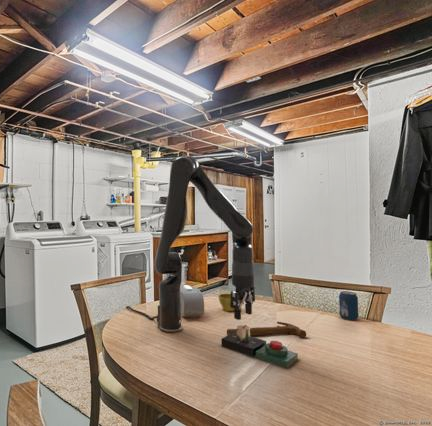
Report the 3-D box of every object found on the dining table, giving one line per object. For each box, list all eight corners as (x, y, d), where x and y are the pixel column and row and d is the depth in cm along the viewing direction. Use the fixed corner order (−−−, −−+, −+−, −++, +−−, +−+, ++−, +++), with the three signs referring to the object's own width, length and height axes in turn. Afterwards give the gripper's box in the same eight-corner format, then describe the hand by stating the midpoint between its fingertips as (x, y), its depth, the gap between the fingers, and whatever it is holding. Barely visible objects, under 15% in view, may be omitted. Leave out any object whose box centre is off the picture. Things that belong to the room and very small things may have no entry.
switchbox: (255, 357, 104) (255, 346, 104) (267, 350, 110) (267, 339, 110) (287, 368, 96) (286, 356, 96) (297, 359, 102) (297, 347, 102)
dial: (246, 343, 109) (246, 329, 109) (235, 339, 112) (234, 326, 112) (252, 339, 112) (251, 326, 112) (240, 336, 115) (240, 323, 115)
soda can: (357, 317, 142) (356, 291, 142) (359, 322, 136) (358, 295, 136) (338, 315, 146) (338, 290, 146) (340, 319, 140) (339, 293, 140)
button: (268, 347, 103) (268, 342, 103) (273, 344, 106) (272, 339, 106) (279, 351, 101) (279, 345, 101) (284, 348, 103) (283, 342, 103)
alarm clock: (204, 320, 142) (204, 291, 142) (184, 320, 142) (183, 292, 142) (193, 307, 163) (193, 282, 163) (175, 307, 163) (175, 282, 163)
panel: (221, 346, 114) (221, 338, 114) (235, 339, 120) (235, 331, 120) (253, 357, 104) (253, 348, 104) (266, 349, 111) (266, 340, 111)
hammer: (234, 341, 117) (306, 337, 120) (233, 333, 118) (306, 329, 120) (220, 330, 129) (287, 327, 132) (220, 323, 129) (286, 320, 132)
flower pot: (214, 307, 161) (214, 294, 161) (231, 306, 164) (231, 292, 164) (226, 313, 151) (225, 299, 151) (243, 311, 154) (243, 297, 154)
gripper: (243, 277, 105) (244, 324, 105) (261, 271, 115) (262, 314, 115) (223, 274, 111) (223, 318, 111) (242, 269, 120) (242, 309, 120)
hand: (243, 316), depth 113 cm, fingers open, 8 cm apart
